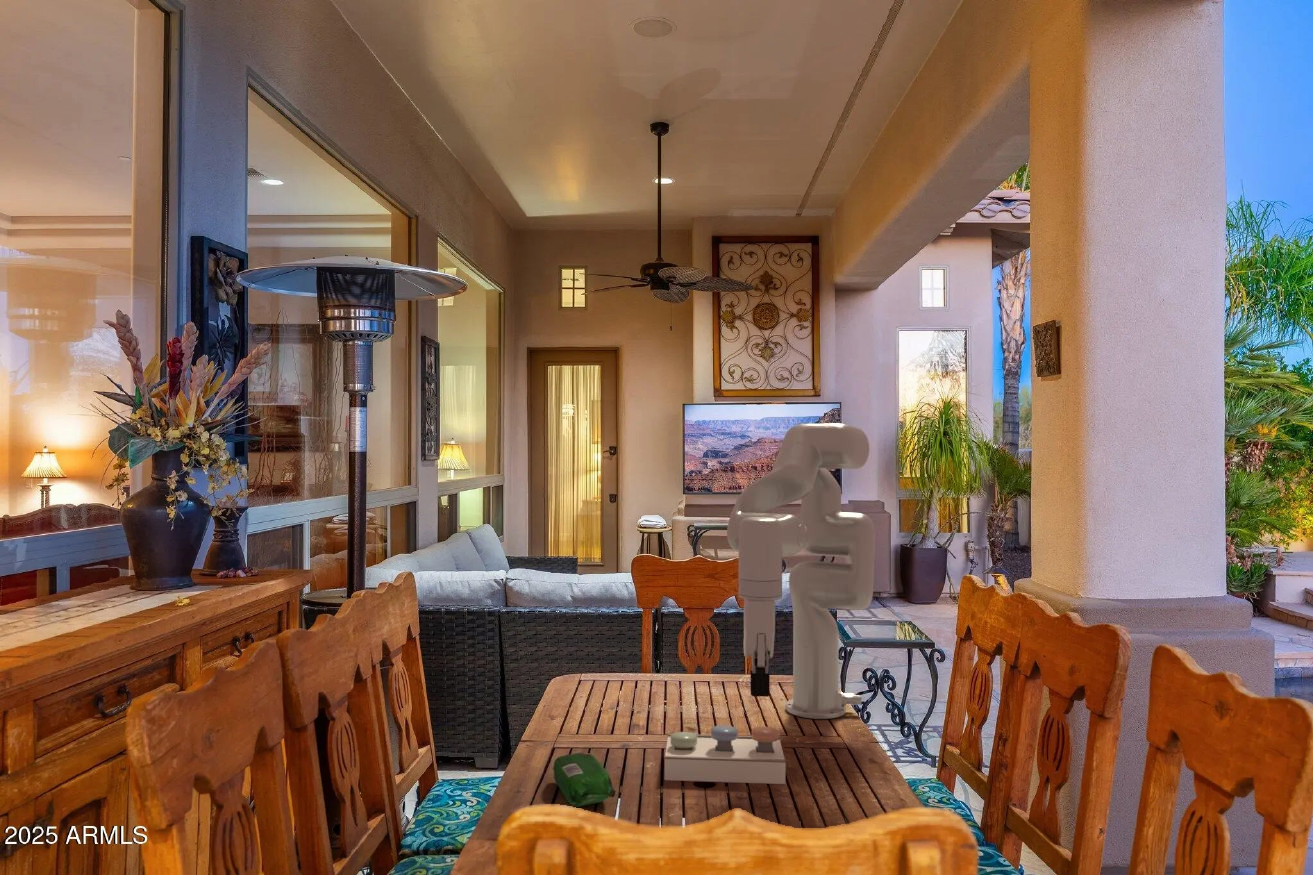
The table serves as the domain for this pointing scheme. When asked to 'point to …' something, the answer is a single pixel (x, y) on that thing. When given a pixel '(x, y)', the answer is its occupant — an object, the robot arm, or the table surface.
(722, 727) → the slate button
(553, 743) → the table surface
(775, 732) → the terracotta button
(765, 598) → the robot arm
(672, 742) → the sage button
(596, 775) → the snack package
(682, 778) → the console
